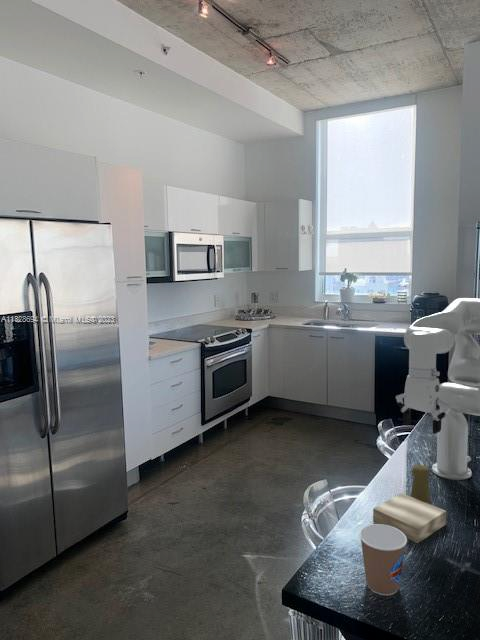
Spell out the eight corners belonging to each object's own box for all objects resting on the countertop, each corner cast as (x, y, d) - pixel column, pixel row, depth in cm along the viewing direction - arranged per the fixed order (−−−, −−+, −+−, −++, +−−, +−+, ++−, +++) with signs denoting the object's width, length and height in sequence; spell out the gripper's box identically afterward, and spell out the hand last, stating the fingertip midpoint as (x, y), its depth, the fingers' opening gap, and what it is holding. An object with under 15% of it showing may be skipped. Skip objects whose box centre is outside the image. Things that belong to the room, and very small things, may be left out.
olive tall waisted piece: (432, 506, 144) (433, 471, 143) (411, 504, 145) (412, 470, 144) (429, 496, 150) (429, 463, 149) (408, 495, 151) (409, 461, 150)
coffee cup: (399, 607, 102) (400, 554, 101) (353, 591, 108) (353, 540, 107) (411, 580, 111) (411, 531, 110) (367, 566, 117) (367, 519, 115)
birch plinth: (401, 505, 145) (401, 493, 145) (445, 524, 134) (446, 510, 134) (373, 521, 136) (373, 508, 136) (417, 543, 125) (418, 528, 125)
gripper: (456, 375, 139) (455, 432, 141) (403, 366, 152) (403, 418, 154) (443, 379, 134) (441, 438, 136) (389, 370, 148) (389, 424, 150)
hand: (421, 428), depth 145 cm, fingers open, 9 cm apart
